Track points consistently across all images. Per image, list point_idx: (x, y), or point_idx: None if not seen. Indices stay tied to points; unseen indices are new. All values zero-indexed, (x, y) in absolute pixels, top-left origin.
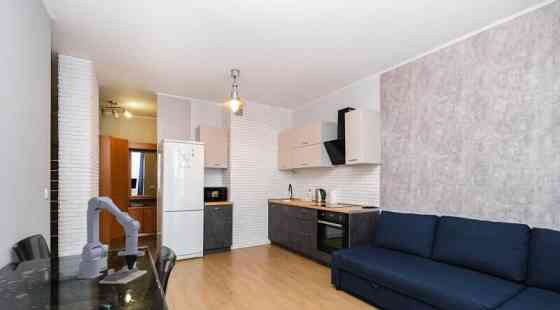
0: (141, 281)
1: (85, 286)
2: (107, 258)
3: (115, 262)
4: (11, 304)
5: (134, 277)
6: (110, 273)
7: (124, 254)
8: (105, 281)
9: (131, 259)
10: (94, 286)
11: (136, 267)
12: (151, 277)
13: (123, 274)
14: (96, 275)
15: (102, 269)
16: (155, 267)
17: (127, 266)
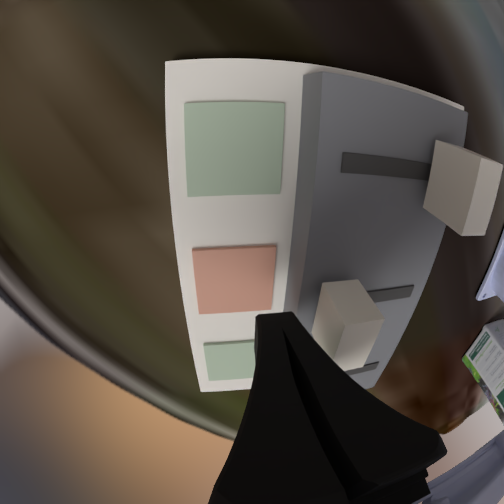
0: (41, 173)
1: (488, 53)
2: (486, 393)
3: (438, 406)
4: None
5: (175, 245)
6: (452, 146)
7: (451, 485)
8: (420, 90)
9: (240, 466)
10: (440, 26)
11: None
12: (52, 289)
13: (308, 219)
14: (501, 257)
15: (480, 340)
16: (222, 433)
17: (334, 355)
